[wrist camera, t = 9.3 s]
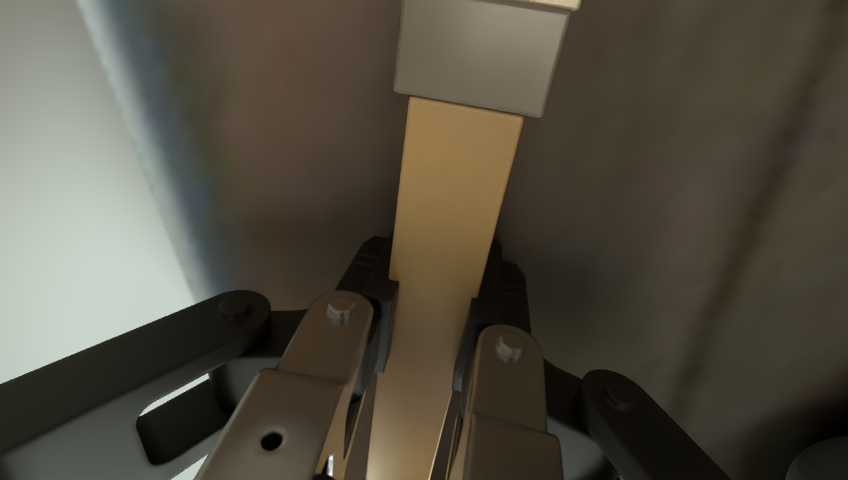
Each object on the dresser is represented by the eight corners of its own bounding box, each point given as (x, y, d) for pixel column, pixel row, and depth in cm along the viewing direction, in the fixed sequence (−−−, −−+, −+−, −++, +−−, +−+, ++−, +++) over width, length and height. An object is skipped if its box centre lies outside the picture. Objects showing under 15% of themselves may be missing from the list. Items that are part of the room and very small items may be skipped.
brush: (440, 449, 16) (428, 531, 14) (374, 433, 16) (350, 510, 14) (631, -267, 6) (720, -465, 4) (461, -285, 7) (435, -483, 4)
